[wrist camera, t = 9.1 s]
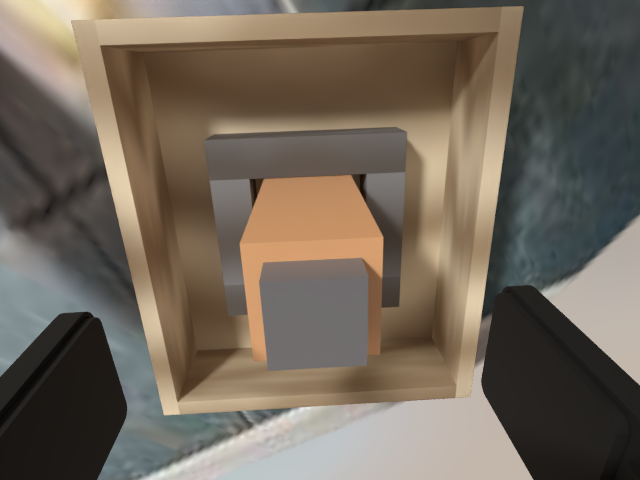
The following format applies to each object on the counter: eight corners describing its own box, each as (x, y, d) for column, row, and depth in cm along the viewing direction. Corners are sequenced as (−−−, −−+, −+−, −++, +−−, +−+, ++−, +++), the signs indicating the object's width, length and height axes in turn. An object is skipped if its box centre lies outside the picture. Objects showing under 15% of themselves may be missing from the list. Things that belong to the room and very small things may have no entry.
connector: (267, 169, 20) (232, 262, 10) (346, 165, 20) (392, 254, 10) (273, 241, 22) (248, 389, 11) (346, 238, 22) (387, 381, 11)
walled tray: (128, 35, 18) (71, 20, 14) (469, 24, 19) (523, 6, 14) (189, 353, 25) (164, 415, 21) (439, 339, 26) (470, 397, 21)
